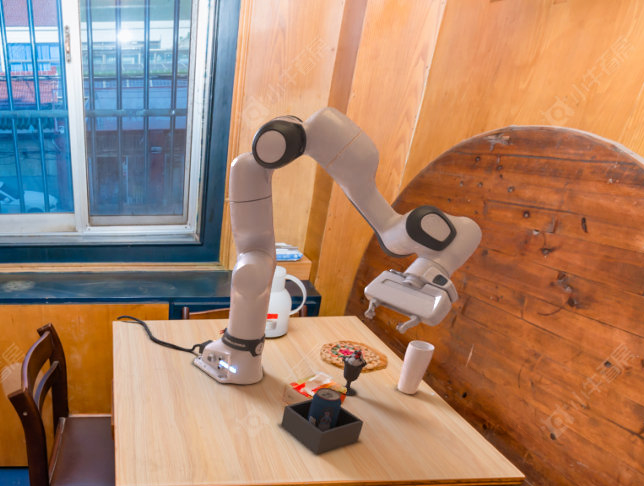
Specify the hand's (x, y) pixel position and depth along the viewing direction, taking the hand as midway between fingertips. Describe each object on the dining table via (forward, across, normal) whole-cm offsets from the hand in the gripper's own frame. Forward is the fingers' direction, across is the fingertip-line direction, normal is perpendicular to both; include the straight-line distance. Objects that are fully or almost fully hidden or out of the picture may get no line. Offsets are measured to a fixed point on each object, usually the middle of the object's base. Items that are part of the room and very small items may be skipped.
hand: (382, 323), depth 123 cm
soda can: (+29, 0, +12) cm, 32 cm away
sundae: (+13, -13, +28) cm, 34 cm away
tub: (+29, 0, +12) cm, 32 cm away
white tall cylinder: (+1, -7, +41) cm, 41 cm away
